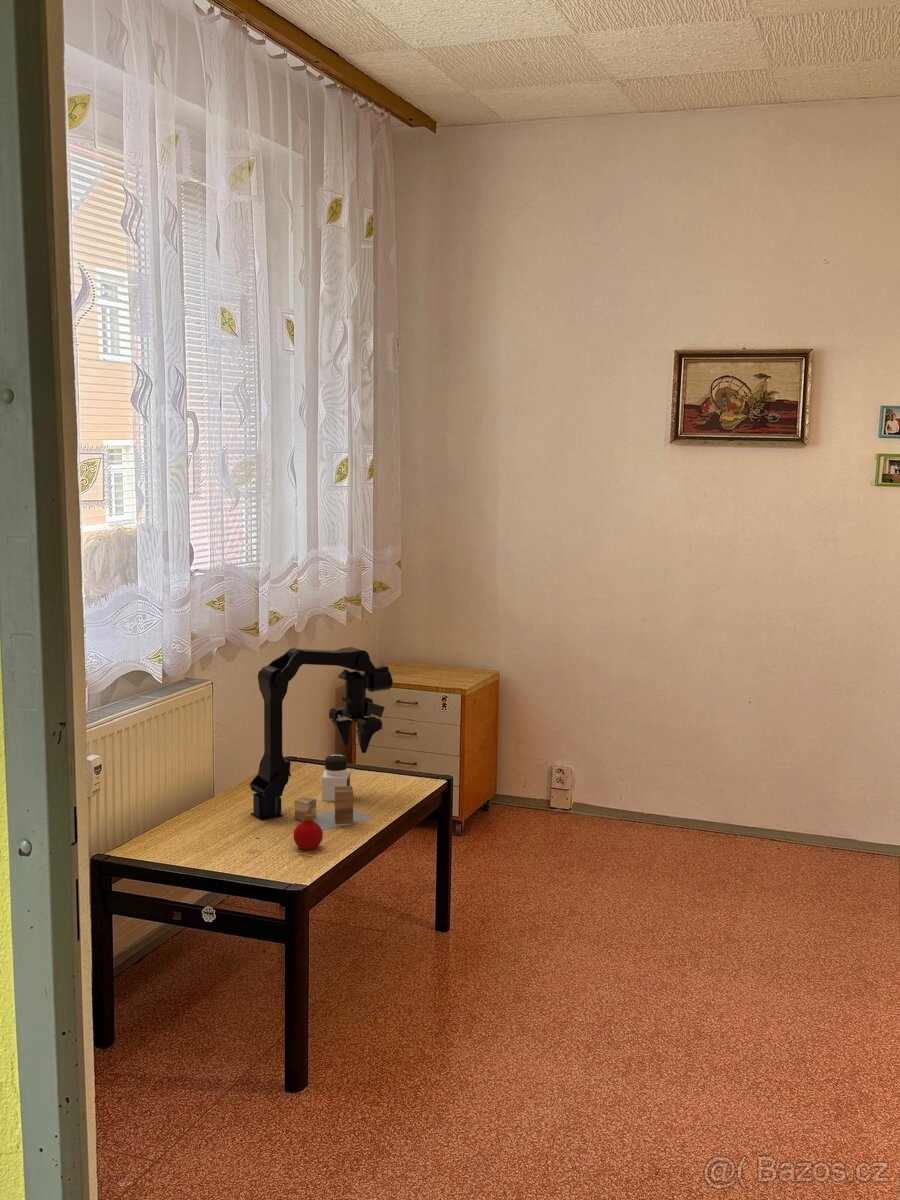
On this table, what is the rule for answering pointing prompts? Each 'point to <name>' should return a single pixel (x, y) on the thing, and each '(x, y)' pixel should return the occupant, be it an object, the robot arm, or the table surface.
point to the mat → (328, 819)
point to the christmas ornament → (308, 833)
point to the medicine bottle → (334, 776)
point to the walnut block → (343, 805)
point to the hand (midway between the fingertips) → (354, 749)
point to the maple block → (305, 807)
